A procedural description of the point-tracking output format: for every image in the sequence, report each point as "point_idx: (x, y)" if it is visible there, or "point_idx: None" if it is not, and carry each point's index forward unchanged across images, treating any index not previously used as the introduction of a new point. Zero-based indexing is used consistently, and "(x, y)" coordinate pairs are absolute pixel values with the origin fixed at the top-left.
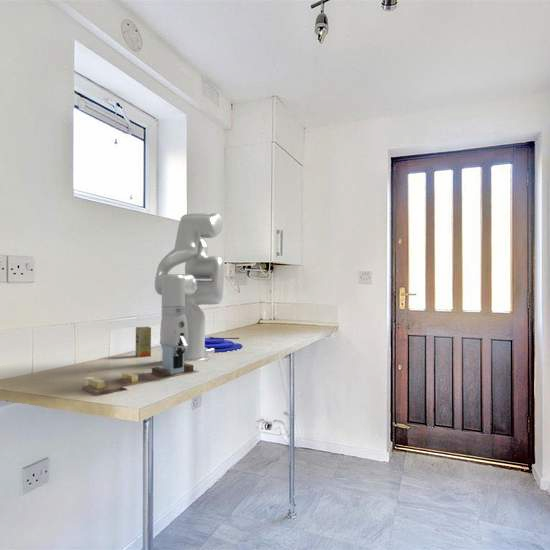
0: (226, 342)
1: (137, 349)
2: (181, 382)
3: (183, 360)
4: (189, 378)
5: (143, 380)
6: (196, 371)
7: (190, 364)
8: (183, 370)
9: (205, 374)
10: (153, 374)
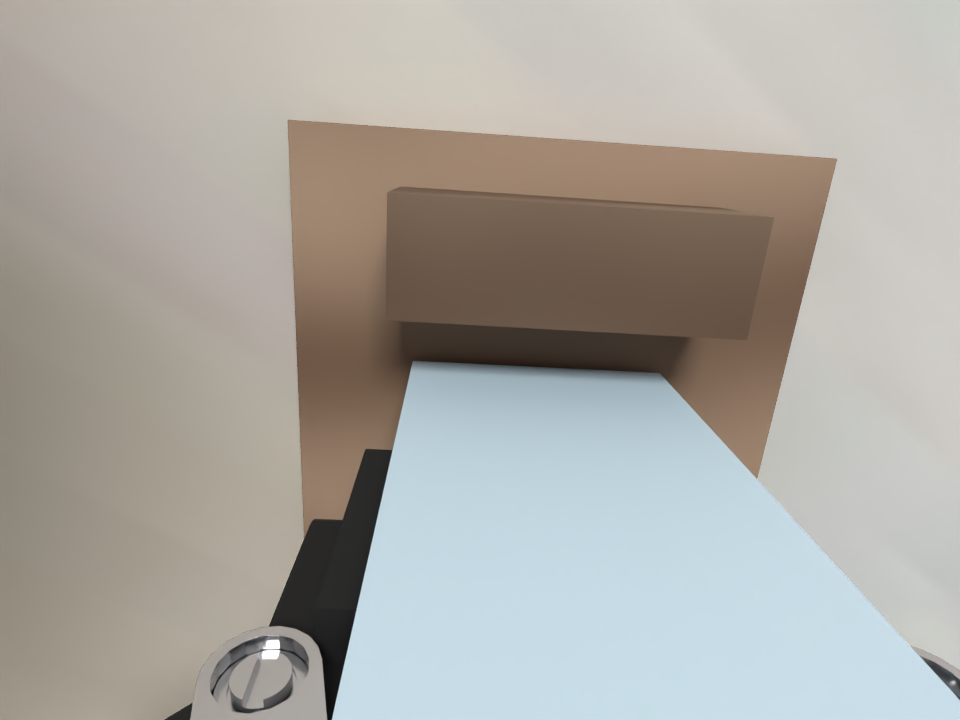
0: None
1: None
2: (879, 580)
3: (743, 478)
4: (834, 411)
5: None
6: (791, 194)
7: (674, 216)
8: (664, 388)
9: (891, 82)
10: None
